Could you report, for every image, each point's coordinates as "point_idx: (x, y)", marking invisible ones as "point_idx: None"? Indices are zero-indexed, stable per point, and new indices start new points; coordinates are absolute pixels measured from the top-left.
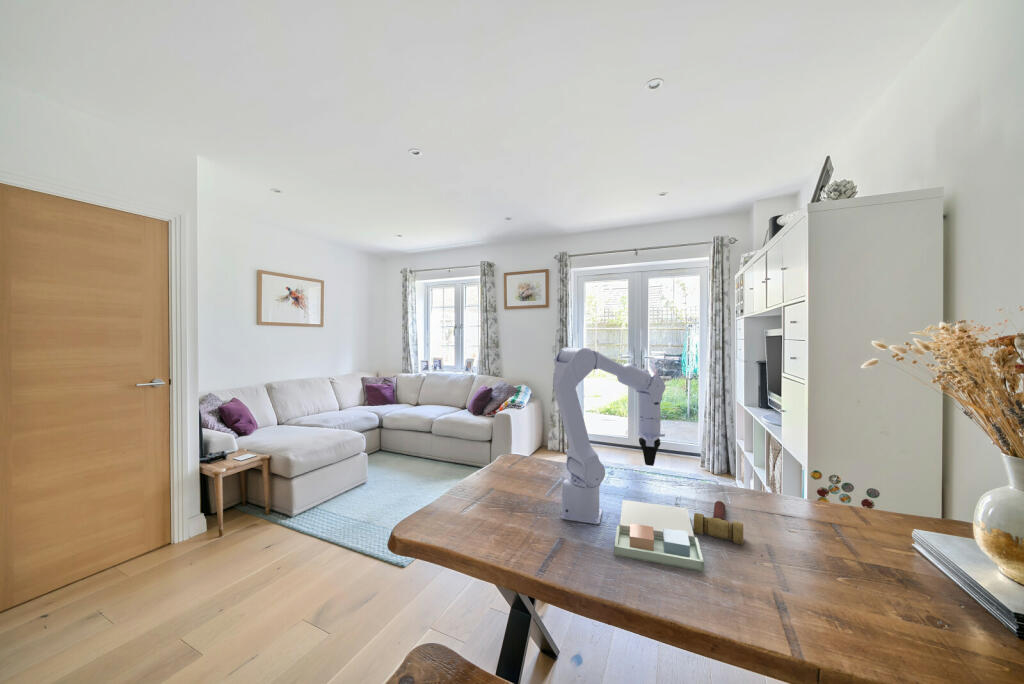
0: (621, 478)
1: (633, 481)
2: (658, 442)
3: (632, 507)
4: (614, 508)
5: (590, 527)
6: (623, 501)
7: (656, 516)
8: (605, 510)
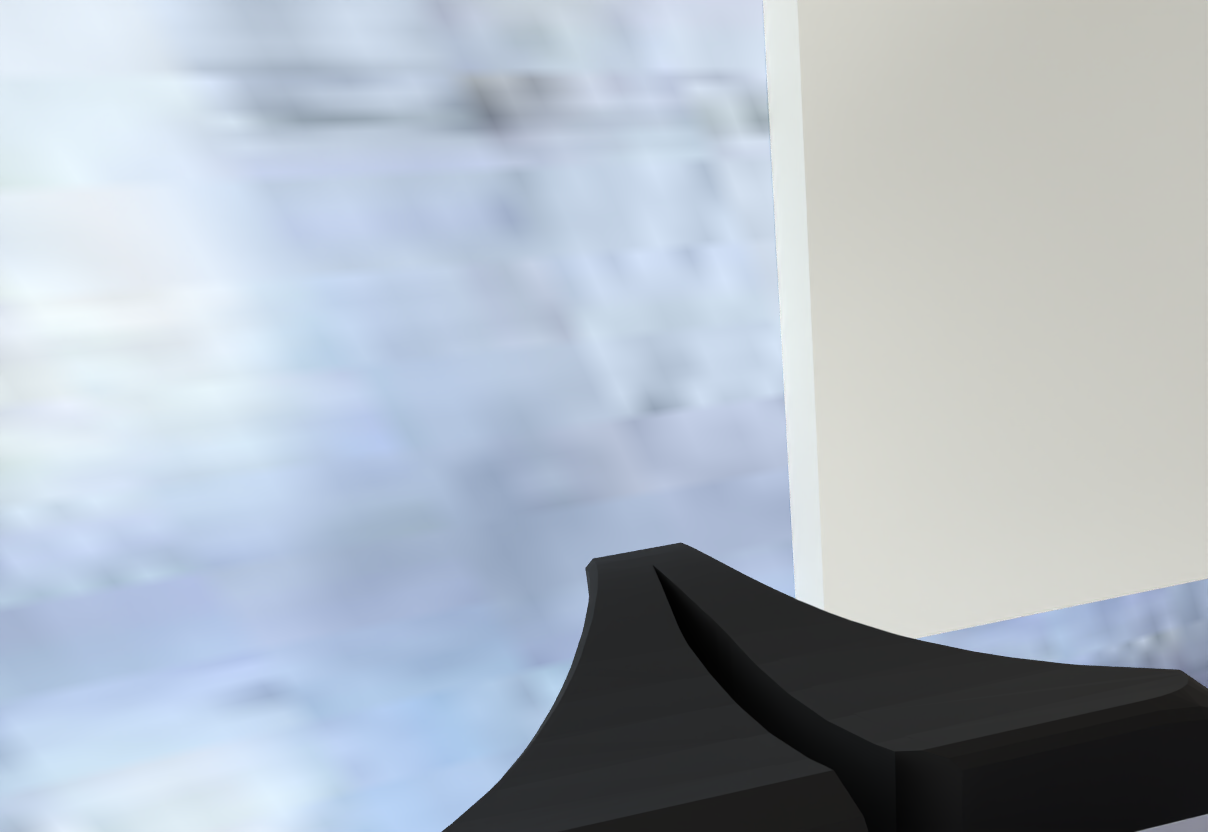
0: (17, 818)
1: (30, 678)
2: (1098, 807)
3: (963, 536)
4: None
5: None
6: None
7: (1088, 295)
8: None
